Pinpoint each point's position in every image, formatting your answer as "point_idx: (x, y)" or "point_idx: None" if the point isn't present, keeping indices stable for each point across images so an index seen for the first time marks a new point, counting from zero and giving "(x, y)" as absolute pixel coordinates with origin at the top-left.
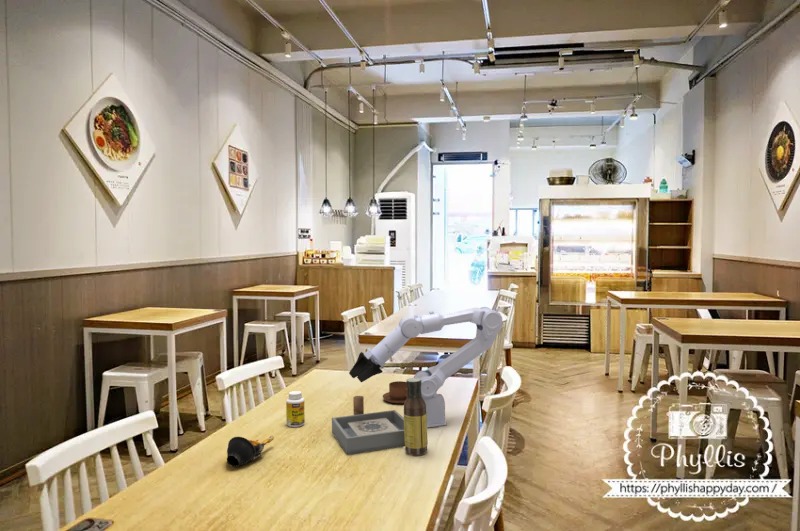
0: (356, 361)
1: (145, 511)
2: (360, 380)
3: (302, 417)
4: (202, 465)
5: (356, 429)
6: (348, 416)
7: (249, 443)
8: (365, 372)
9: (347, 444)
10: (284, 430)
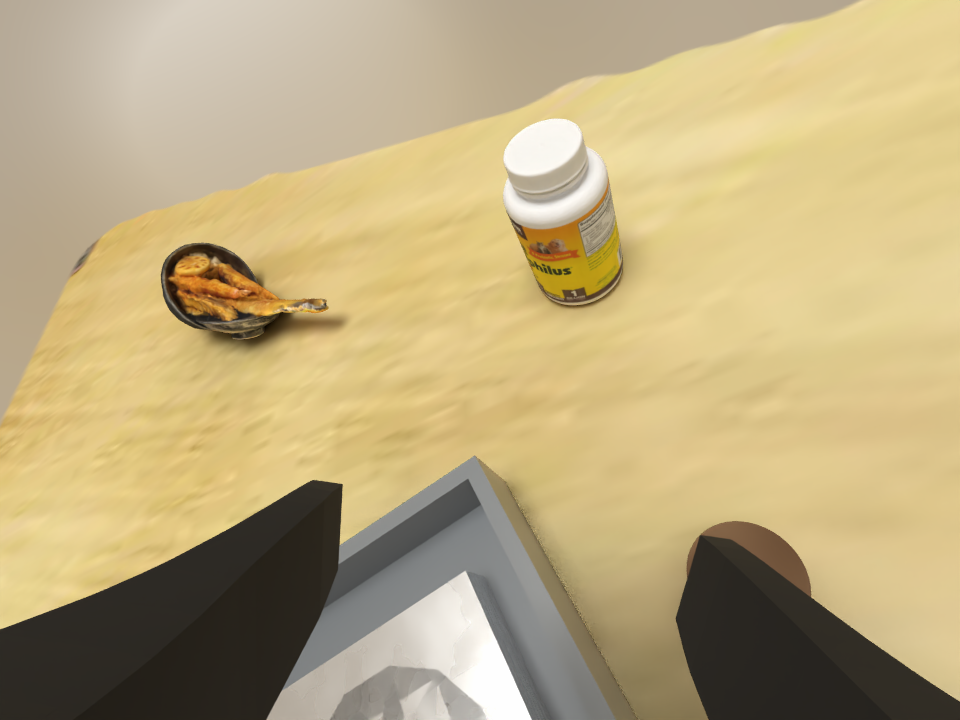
0: (91, 595)
1: (89, 289)
2: (688, 608)
3: (559, 283)
4: (248, 240)
5: (351, 672)
6: (511, 559)
7: (170, 302)
8: (786, 712)
9: None
10: (505, 272)
